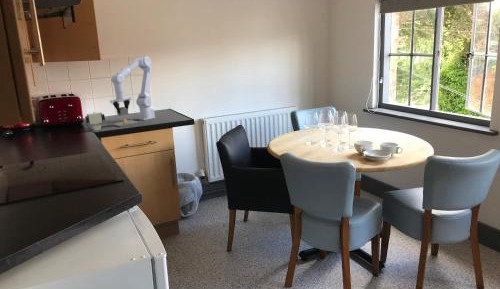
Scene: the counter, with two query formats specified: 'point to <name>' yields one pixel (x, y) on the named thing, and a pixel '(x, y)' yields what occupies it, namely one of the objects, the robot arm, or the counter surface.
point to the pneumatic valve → (95, 120)
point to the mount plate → (125, 123)
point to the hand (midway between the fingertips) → (122, 112)
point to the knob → (123, 111)
